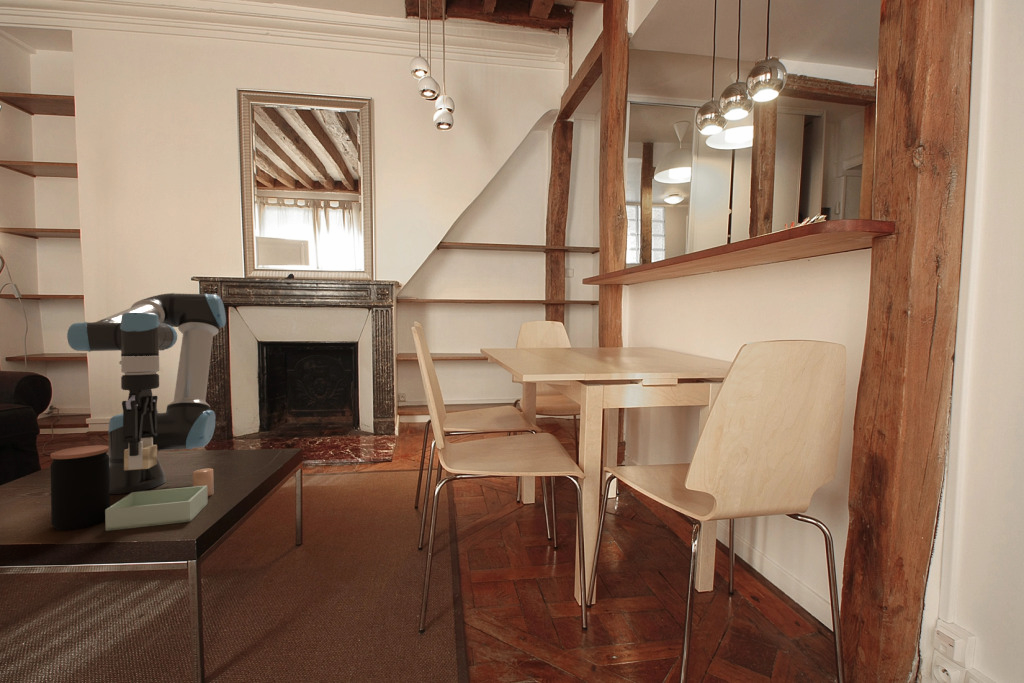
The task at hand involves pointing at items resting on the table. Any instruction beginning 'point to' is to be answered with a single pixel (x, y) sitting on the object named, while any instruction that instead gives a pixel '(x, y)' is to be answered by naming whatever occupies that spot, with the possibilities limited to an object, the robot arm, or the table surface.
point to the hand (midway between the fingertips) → (141, 465)
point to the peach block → (204, 479)
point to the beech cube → (144, 457)
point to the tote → (156, 507)
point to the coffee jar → (79, 487)
